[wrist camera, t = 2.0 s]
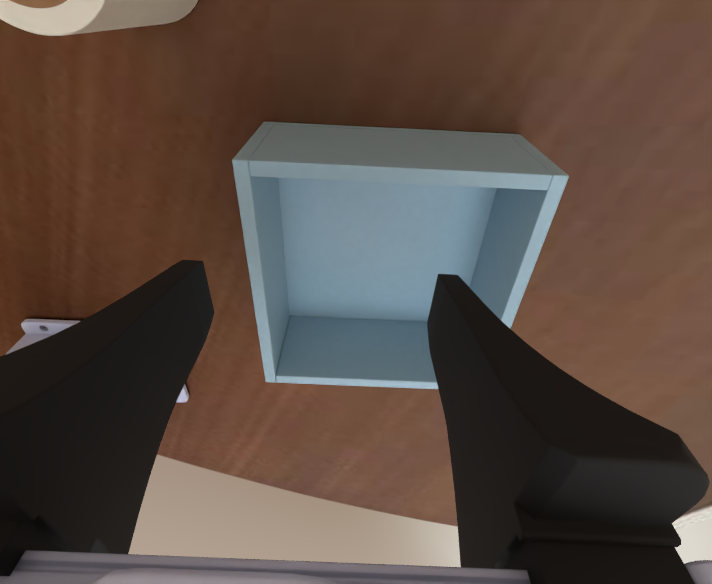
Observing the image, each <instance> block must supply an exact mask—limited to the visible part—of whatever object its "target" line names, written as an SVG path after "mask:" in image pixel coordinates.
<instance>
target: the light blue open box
mask: <svg viewBox="0 0 712 584" xmlns="http://www.w3.org/2000/svg"><path fill="white" fill-rule="evenodd" d="M232 164H233V171H234V177H235V184H236V190H237V197H238V203H239V210H240V217H241V223H242V230H243V236H244V243H245V249H246V256H247V263H248V269H249V276H250V282H251V289H252V296H253V302H254V309H255V315H256V322H257V328H258V335H259V342H260V348H261V355H262V361H263V368H264V375H265V381H266V382H277V383H300V384H324V385H349V386H373V387H397V388H422V389H438V385H437V380H436V376H435V372H434V368H433V364H432V359H431V355H430V349H429V340H428V329H427V321H428V317H429V312H430V308H431V303H432V299H433V294H434V290H435V285H436V281H437V276H438V274H452V275H458V276H459V277H460V278H461V279H462V280H463V281H464V282H465V283H466V284H467V285H468V286H469V287H470V288H471V290H472V291H473V292H474V293H475V294H476V295H477V296H478V297H479V298H480V299H481V300H482V302H483V303H484V304H485V305H486V306H487V307H488V308H489V309H490V310H491V311H492V312H493V313H494V314H495V315H496V316H497V317H498V318H499V319H500V320H501V321H502V322H503V323H504V324H505V325H506V326H508V327H509V328H511V325H512V323H513V320H514V318H515V315H516V312H517V310H518V307H519V305H520V302H521V299H522V297H523V294H524V292H525V289H526V286H527V284H528V281H529V279H530V276H531V274H532V271H533V268H534V266H535V263H536V261H537V258H538V255H539V253H540V250H541V248H542V245H543V242H544V240H545V237H546V235H547V232H548V229H549V227H550V224H551V222H552V219H553V217H554V214H555V211H556V209H557V206H558V204H559V201H560V198H561V196H562V193H563V191H564V188H565V185H566V183H567V180H568V178H569V176H568V175H567V174H566V173H565V172H564V171H563V170H561V169H560V168H559V167H558V166H557V165H556V164H554V163H553V162H552V161H551V160H550V159H549V158H547V157H546V156H545V155H544V154H543V153H541V152H540V151H539V150H538V149H537V148H536V147H534V146H533V145H532V144H531V143H530V142H529V141H527V140H526V139H525V138H524V137H523V136H521V135H520V134H506V133H485V132H465V131H445V130H425V129H405V128H384V127H364V126H344V125H324V124H303V123H283V122H263V123H262V125H261V126H260V127H259V128H258V129H257V131H256V132H255V133H254V134H253V135H252V137H251V138H250V139H249V140H248V141H247V143H246V144H245V145H244V146H243V147H242V149H241V150H240V151H239V152H238V153H237V155H236V156H235V157H234V158H233V159H232Z"/></svg>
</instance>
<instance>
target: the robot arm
mask: <svg viewBox="0 0 712 584" xmlns="http://www.w3.org/2000/svg"><path fill="white" fill-rule="evenodd" d="M213 315H214V309H213V304H212V300H211V295H210V291H209V286H208V282H207V277H206V273H205V268H204V264H203V261H193V260H182V261H180V262H178V263H176V264H175V265H173V266H171V267H170V268H168V269H167V270H165V271H164V272H162V273H160V274H159V275H157V276H156V277H154V278H153V279H151V280H150V281H148V282H147V283H145V284H143V285H142V286H140V287H139V288H137V289H136V290H134V291H132V292H131V293H129V294H128V295H126V296H124V297H123V298H121V299H119V300H118V301H116V302H114V303H113V304H111V305H109V306H107V307H106V308H104V309H102V310H101V311H99V312H97V313H95V314H94V315H92V316H90V317H88V318H86V319H84V320H82V321H71V320H48V319H25V320H24V321H23V322H22V323H21V327H22V328H23V330H24V331H25V333H26V334H25V335H24V336H23V337H22V338H21V339H20V340H19V341H18V342H17V343H16V344H15V345H14V346H13V347H12V348H11V349H10V350H9V351H8V352H7V353H6V354H5V355H3V356H1V357H0V584H712V561H710V560H709V561H708V560H703V561H694V562H689V563H686V564H684V563H683V562H682V560H681V558H680V556H679V555H678V553H677V551H676V549H675V547H678V546H679V545H681V539H680V537H679V536H678V534H677V532H676V530H675V529H674V527H673V525H672V524H671V523H673V522H674V521H675V520H676V519H678V518H679V517H680V516H682V515H683V514H684V513H685V512H687V511H688V510H689V509H690V508H692V507H693V506H694V505H696V504H697V503H698V502H699V501H700V500H701V499H702V498H703V497H704V496H705V494H706V491H707V488H708V486H709V479H708V475H707V474H706V472H705V471H704V469H703V468H702V467H701V465H700V464H699V463H698V461H697V460H696V458H695V457H694V456H693V454H692V453H691V452H690V450H689V449H688V447H687V446H686V445H685V443H684V442H683V440H682V439H681V438H680V437H679V435H678V434H676V433H674V432H672V431H670V430H668V429H666V428H664V427H662V426H660V425H658V424H656V423H654V422H652V421H650V420H648V419H646V418H644V417H642V416H640V415H638V414H636V413H633V412H631V411H629V410H628V409H626V408H624V407H622V406H620V405H619V404H617V403H615V402H613V401H611V400H610V399H608V398H606V397H604V396H602V395H601V394H599V393H597V392H596V391H594V390H592V389H591V388H589V387H587V386H586V385H584V384H582V383H581V382H579V381H578V380H576V379H575V378H573V377H572V376H570V375H569V374H567V373H566V372H564V371H563V370H561V369H560V368H558V367H557V366H556V365H554V364H553V363H551V362H550V361H549V360H547V359H546V358H545V357H543V356H542V355H541V354H539V353H538V352H537V351H536V350H534V349H533V348H532V347H530V346H529V345H528V344H527V343H526V342H524V341H523V340H522V339H521V338H520V337H519V336H517V335H516V334H515V333H514V332H513V331H512V330H511V329H510V328H509V327H508V326H506V325H505V324H504V323H503V322H502V321H501V320H500V319H499V318H498V317H497V316H496V315H495V314H494V313H493V312H492V311H491V310H490V309H489V308H488V307H487V306H486V305H485V304H484V303H483V302H482V300H481V299H480V298H479V297H478V296H477V295H476V294H475V293H474V292H473V291H472V290H471V288H470V287H469V286H468V285H467V284H466V283H465V282H464V281H463V280H462V279H461V278H460V277H459V276H458V275H452V274H438V276H437V281H436V285H435V290H434V294H433V299H432V303H431V308H430V312H429V317H428V321H427V329H428V340H429V349H430V355H431V359H432V364H433V368H434V372H435V376H436V380H437V385H438V389H439V393H440V397H441V401H442V405H443V410H444V414H445V419H446V424H447V431H448V439H449V446H450V454H451V463H452V472H453V481H454V490H455V500H456V511H457V522H458V533H459V547H460V561H461V568H460V567H436V566H435V567H434V566H409V565H385V564H359V563H334V562H310V561H285V560H259V559H234V558H208V557H183V556H182V557H181V556H158V555H131V554H128V552H129V549H130V545H131V541H132V537H133V533H134V530H135V526H136V522H137V518H138V514H139V511H140V507H141V504H142V500H143V497H144V494H145V490H146V487H147V484H148V480H149V477H150V474H151V470H152V467H153V464H154V461H155V458H156V455H157V452H158V449H159V446H160V443H161V440H162V437H163V435H164V432H165V429H166V426H167V423H168V421H169V418H170V415H171V413H172V410H173V408H174V406H175V403H176V402H186V401H187V400H188V398H189V394H188V391H187V388H186V385H185V382H186V380H187V378H188V376H189V374H190V372H191V370H192V368H193V366H194V364H195V362H196V360H197V358H198V356H199V354H200V351H201V349H202V347H203V345H204V343H205V341H206V338H207V335H208V332H209V329H210V326H211V322H212V319H213Z"/></svg>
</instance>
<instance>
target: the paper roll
mask: <svg viewBox="0 0 712 584" xmlns="http://www.w3.org/2000/svg"><path fill="white" fill-rule="evenodd" d="M197 2H198V0H0V19H1V20H3V21H5V22H7V23H9V24H11V25H13V26H15V27H17V28H20V29H22V30H25V31H28V32H31V33H35V34H39V35H47V36H63V35H72V34H81V33H90V32H98V31H107V30H116V29H125V28H133V27H142V26H151V25H160V24H168V23H173V22H176V21H178V20H180V19H182V18H184V17H185V16H186V15H188V14H189V13H190V12H191V11H192V9H193V8H194V7H195V6H196V4H197Z"/></svg>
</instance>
